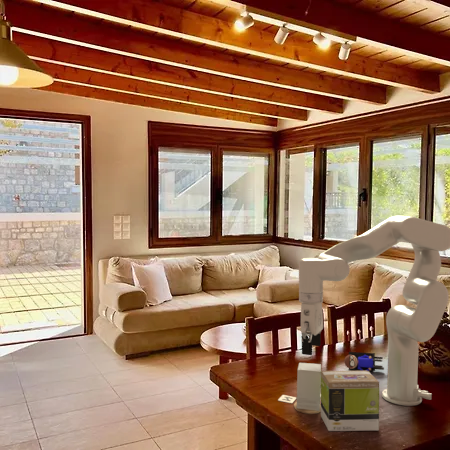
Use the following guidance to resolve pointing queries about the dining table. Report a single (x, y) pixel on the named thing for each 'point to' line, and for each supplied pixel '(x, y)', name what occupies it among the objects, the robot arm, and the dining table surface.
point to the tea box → (350, 400)
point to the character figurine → (362, 361)
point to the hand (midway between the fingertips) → (311, 349)
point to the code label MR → (287, 399)
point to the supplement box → (308, 386)
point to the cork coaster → (306, 410)
